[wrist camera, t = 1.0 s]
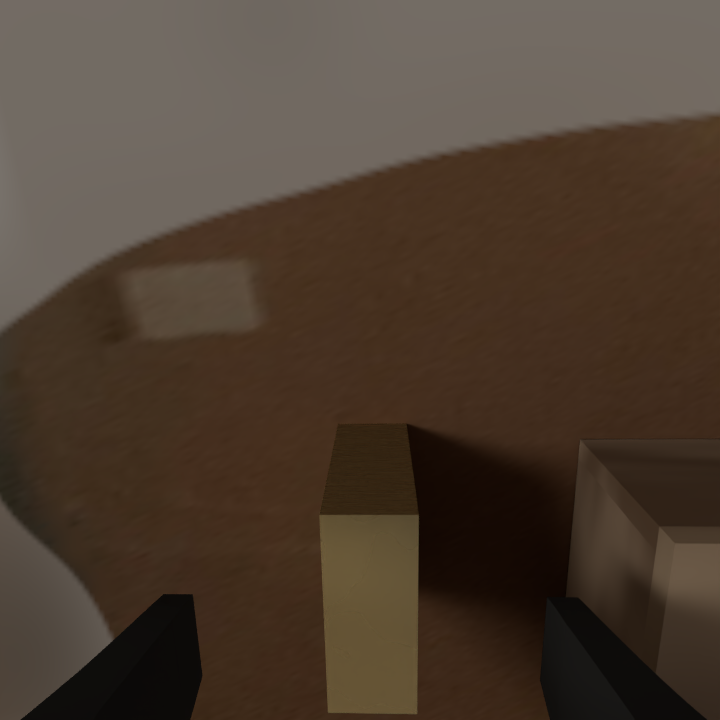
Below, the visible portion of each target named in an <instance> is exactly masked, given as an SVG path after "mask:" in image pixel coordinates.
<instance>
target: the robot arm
mask: <svg viewBox="0 0 720 720" xmlns="http://www.w3.org/2000/svg"><path fill="white" fill-rule="evenodd" d="M201 679H202V669H201V660H200V652H199V643H198V635H197V627H196V618H195V610H194V601H193V594H163V595H162V596H161V597H160V598H159V599H158V600H157V601H156V602H154V603H153V604H152V605H151V606H150V607H149V608H148V609H147V610H146V611H145V612H144V613H142V614H141V615H140V616H139V617H138V618H137V619H136V620H135V621H134V622H133V623H132V624H131V625H130V626H128V627H127V628H126V629H125V630H124V631H123V632H122V633H121V634H120V635H119V636H118V637H117V638H115V639H114V640H113V641H112V642H111V643H110V644H109V645H108V646H107V647H106V648H105V649H103V650H102V651H101V652H100V653H99V654H98V655H97V656H96V657H94V658H93V659H92V660H91V661H90V662H89V663H88V664H87V665H86V666H84V667H83V668H82V669H81V670H80V671H79V672H78V673H76V674H75V675H74V676H73V677H72V678H70V679H69V680H68V681H67V682H66V683H64V684H63V685H62V686H61V687H60V688H59V689H57V690H56V691H55V692H54V693H53V694H51V695H50V696H49V697H48V698H46V699H45V700H44V701H43V702H42V703H40V704H39V705H38V706H37V707H36V708H34V709H33V710H32V711H31V712H30V713H28V714H27V715H26V716H25V717H23V718H22V719H21V720H190V718H191V715H192V712H193V708H194V705H195V701H196V697H197V694H198V690H199V686H200V683H201ZM540 681H541V685H542V689H543V693H544V697H545V702H546V706H547V710H548V713H549V717H550V720H707V719H706V718H705V717H704V716H702V715H701V714H700V713H699V712H698V711H697V710H695V709H694V708H693V707H692V706H691V705H690V704H688V703H687V702H686V701H685V700H684V699H683V698H682V697H681V696H680V695H678V694H677V693H676V692H675V691H674V690H673V689H672V688H671V687H670V686H668V685H667V684H666V683H665V682H664V681H663V680H662V679H661V678H660V677H659V676H658V675H657V674H656V673H655V672H654V671H652V670H651V669H650V668H649V667H648V666H647V665H646V664H645V663H644V662H643V661H642V660H641V659H640V658H639V657H638V656H637V655H636V654H635V653H634V652H633V651H632V650H631V649H630V648H629V647H628V646H627V645H626V644H624V643H623V642H622V641H621V640H620V639H619V638H618V637H617V636H616V635H615V634H614V633H613V632H612V631H611V630H610V629H609V628H608V627H607V626H606V625H605V624H604V623H603V622H602V621H601V620H600V619H599V618H598V617H597V616H596V615H595V614H594V613H593V612H592V611H591V610H590V609H589V608H588V607H587V606H586V605H585V604H584V603H583V602H582V601H581V600H580V599H579V598H578V597H547V605H546V616H545V628H544V640H543V652H542V664H541V676H540Z"/></svg>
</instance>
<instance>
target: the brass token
mask: <svg viewBox="0 0 720 720" xmlns="http://www.w3.org/2000/svg"><path fill="white" fill-rule="evenodd" d="M320 538H321V561H322V584H323V607H324V629H325V652H326V675H327V698H328V713H382V714H417V658H418V549H419V513H418V505H417V498H416V490H415V483H414V476H413V468H412V461H411V453H410V446H409V438H408V431H407V424H338V426H337V431H336V436H335V441H334V446H333V451H332V456H331V461H330V466H329V471H328V476H327V480H326V485H325V490H324V495H323V500H322V505H321V510H320Z"/></svg>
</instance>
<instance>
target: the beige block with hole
mask: <svg viewBox="0 0 720 720" xmlns="http://www.w3.org/2000/svg"><path fill="white" fill-rule="evenodd" d="M566 597H578V598H579V599H580V600H581V601H582V602H583V603H584V604H585V605H586V606H587V607H588V608H589V609H590V610H591V611H592V612H593V613H594V614H595V615H596V616H597V617H598V618H599V619H600V620H601V621H602V622H603V623H604V624H605V625H606V626H607V627H608V628H609V629H610V630H611V631H612V632H613V633H614V634H615V635H616V636H617V637H618V638H619V639H620V640H621V641H622V642H623V643H624V644H626V645H627V646H628V647H629V648H630V649H631V650H632V651H633V652H634V653H635V654H636V655H637V656H638V657H639V658H640V659H641V660H642V661H643V662H644V663H645V664H646V665H647V666H648V667H649V668H650V669H651V670H652V671H654V672H655V673H656V674H657V675H658V676H659V677H660V678H661V679H662V680H663V681H664V682H665V683H666V684H667V685H668V686H670V687H671V688H672V689H673V690H674V691H675V692H676V693H677V694H678V695H680V696H681V697H682V698H683V699H684V700H685V701H686V702H687V703H688V704H690V705H691V706H692V707H693V708H694V709H695V710H697V711H698V712H699V713H700V714H701V715H702V716H704V717H705V718H706V719H707V720H720V439H600V440H580V447H579V458H578V469H577V480H576V490H575V501H574V512H573V523H572V534H571V545H570V556H569V567H568V578H567V589H566Z"/></svg>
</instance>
